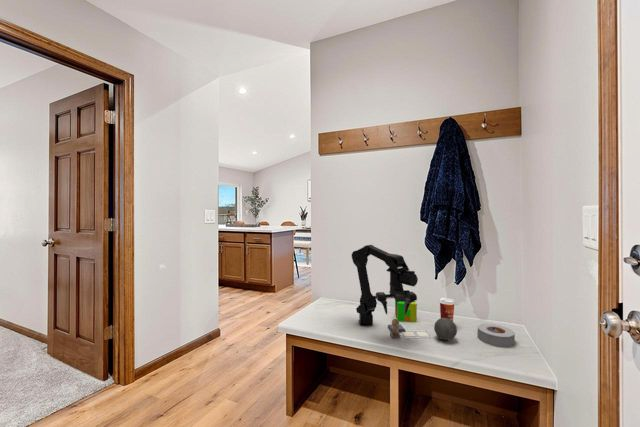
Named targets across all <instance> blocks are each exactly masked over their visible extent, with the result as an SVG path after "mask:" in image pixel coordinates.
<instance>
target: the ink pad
mask: <svg viewBox="0 0 640 427" xmlns="http://www.w3.org/2000/svg"><path fill="white" fill-rule="evenodd" d="M387 329H388V330H389V331H390V332H392V323H391V324H387ZM405 331H406V329H405V328H404V326H403V325H402V324H401V323H399V334H402V333H401V332H405Z"/></svg>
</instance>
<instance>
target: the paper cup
mask: <svg viewBox="0 0 640 427" xmlns="http://www.w3.org/2000/svg"><path fill="white" fill-rule="evenodd" d="M455 304H456V302H455V300H454V299H452V298H450V297H441V298H440V299H439V309H440V310H439V311H440V315H439V316H440V319H441V318H448V319H450V320H452V321H453V322H454V314H455Z"/></svg>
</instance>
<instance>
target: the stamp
mask: <svg viewBox="0 0 640 427" xmlns="http://www.w3.org/2000/svg"><path fill="white" fill-rule="evenodd" d="M391 324H392V332H391V331H390V332H389V336H390V338H391V339H392V340H398V339H399V340H400V339H401V337H402V336H401V333H399V324H400V321H398V320H397V318H392V320H391Z"/></svg>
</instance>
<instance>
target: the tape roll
mask: <svg viewBox="0 0 640 427" xmlns="http://www.w3.org/2000/svg"><path fill="white" fill-rule="evenodd" d="M515 335H516V333H515V331H514V330H512V329H511V328H510V327H506V326H502V325H500V324H495V323H480V324H478V325H477V339H478V340H479V341H481V342H483V343H484V344H486V345H489V346H494V347H499V348H511V347H513V346H515Z"/></svg>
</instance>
